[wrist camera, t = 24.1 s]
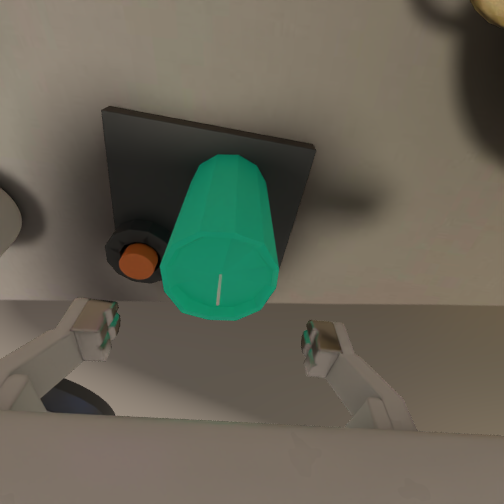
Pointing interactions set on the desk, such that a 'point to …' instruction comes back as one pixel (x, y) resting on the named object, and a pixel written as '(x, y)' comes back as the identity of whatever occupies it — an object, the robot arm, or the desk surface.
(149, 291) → the desk surface
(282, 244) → the scale
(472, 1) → the ceramic bowl
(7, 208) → the cup
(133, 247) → the button
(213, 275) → the candle
